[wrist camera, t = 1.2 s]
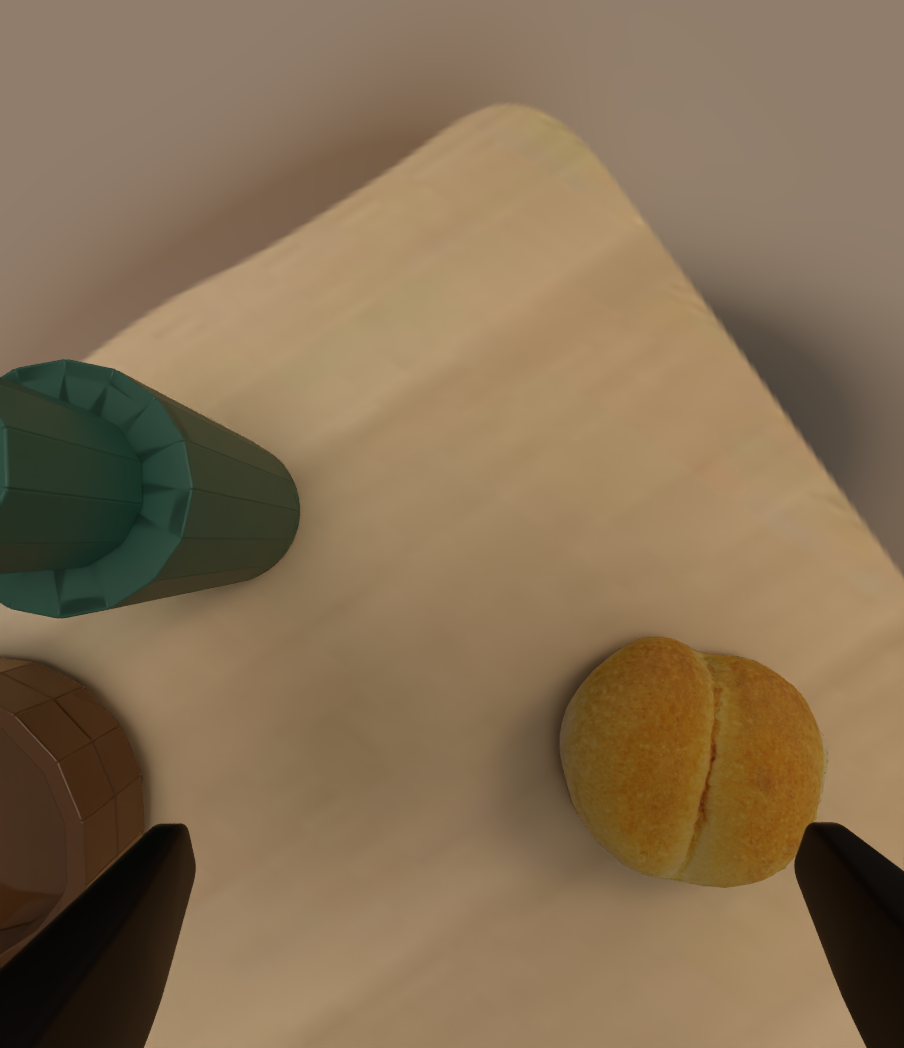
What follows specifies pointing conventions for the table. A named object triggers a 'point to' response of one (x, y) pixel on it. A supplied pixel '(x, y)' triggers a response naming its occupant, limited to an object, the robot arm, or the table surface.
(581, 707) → the bread roll
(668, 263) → the table surface
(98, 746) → the brown round bowl
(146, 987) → the robot arm
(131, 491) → the ceramic bottle
